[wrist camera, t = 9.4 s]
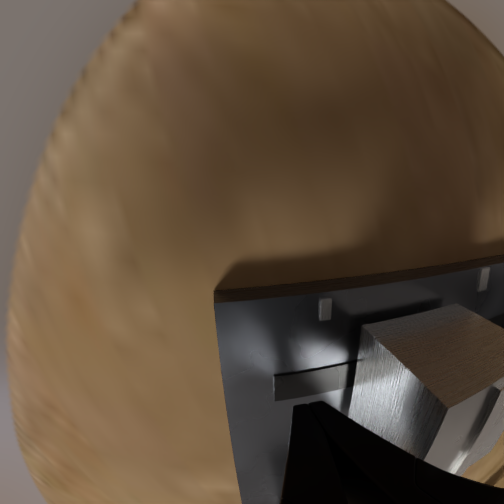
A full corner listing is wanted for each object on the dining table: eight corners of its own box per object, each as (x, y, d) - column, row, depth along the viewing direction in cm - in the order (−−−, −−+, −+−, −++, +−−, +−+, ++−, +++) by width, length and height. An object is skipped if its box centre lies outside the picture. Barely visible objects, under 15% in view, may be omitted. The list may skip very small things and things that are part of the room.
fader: (456, 303, 8) (545, 352, 4) (433, 393, 9) (493, 454, 5) (361, 325, 8) (454, 414, 4) (346, 423, 9) (397, 511, 5)
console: (545, 246, 11) (557, 250, 10) (480, 441, 14) (487, 448, 13) (213, 290, 8) (213, 304, 7) (247, 526, 12) (249, 539, 11)
